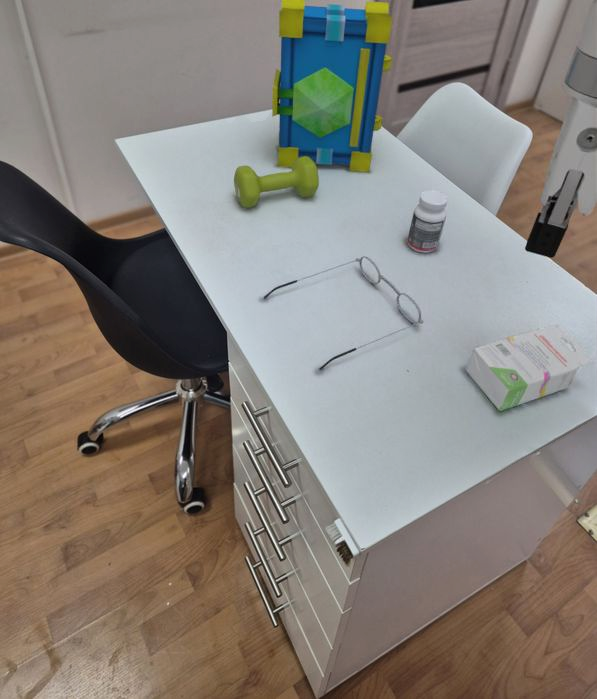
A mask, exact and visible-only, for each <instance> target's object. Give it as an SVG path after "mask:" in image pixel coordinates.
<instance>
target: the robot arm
mask: <svg viewBox="0 0 597 699" xmlns="http://www.w3.org/2000/svg"><path fill="white" fill-rule="evenodd" d="M587 13H588V14H587V17H586V20H585V22H584V25H583V27H582V31H581V32H580V35H579V39H578V42H577V45H576V47H575V50H574V52H573V55H572V58H571V60H570V63H569V66H568V69H567V72H566V74H565V77H564V80H563V83H562V86H561V87H562V89H563V91H564V92H565V93H566V94H567V95H569V96H571V97H572V98H571V100H570V104H569V105H568V108H567V112H566V114H565V117H564V119H563V121H562V122H563V123H562V125H561V127H560V131H559V133H558V136H557V139H556V142H555V145H554V148H553V151H552V154H551V157H550V160H549V165H548V168H547V172H546V176H545V180H544V184H543V188H542V189H543V190H542V192H541V196H540V202H541V204H542V208H541V212H540V211H538V213H537V214H536V215H537V216H536V217H535V220H534V223H533V225H532V228H531V230H530V233H529V235H528V238H527V240H526V244H525V246H524V250H525V251H526V252H528V253H531V254H535V255H539V256H543V257H545V258H548V259H549V258H550V259H552V258H555V257H556V255H557V252H558V251H559V248H560V246H561V244H562V241H563V239H564V237H565V235H566V233H567V230H568V228H569V223H570V220H571V217H572V216H573V213H574V211H575V209H576V207H577V213H578V214H582V216H584V217H587V216H589V215H591V214H593V211H594V210H595V206H596V205H597V0H592V2H591V5H590V8H589V11H588V12H587Z"/></svg>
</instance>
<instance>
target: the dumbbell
mask: <svg viewBox="0 0 597 699" xmlns="http://www.w3.org/2000/svg"><path fill="white" fill-rule="evenodd" d="M233 185H234V193H235V196H236V199H237V200H238V202H239V203H240V205H241V206H242V207H243V208H245V209H249V208H253V207H255V206H256V205H258V203H259V200H260V197H261V194H262V193H266V192H274V191H279V190H280V191H281V190H286V189H290V188H294V189H295V191H296V192H297V194H298V195H299V196H301V197H302V198H311V197H313V196H315V194H316V192H317V191H318V189H319V185H320V177H319V170H318V166H317V164H316V163H314V162H313V161H312V159H311V158H309V157H308V156H303V157H299V158H298V159H297V160H296V161H295V163H294V165H293V167H291V171H286V172H277V173H276V172H275V173H269V174H266V175H261V176H259V175H258V174H257V173H256V172H255V170H254V168H252V167H251V166H249V165H239V166H237V167H236V168H235V171H234V176H233Z"/></svg>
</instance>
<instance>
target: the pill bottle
mask: <svg viewBox="0 0 597 699" xmlns="http://www.w3.org/2000/svg"><path fill="white" fill-rule="evenodd" d="M447 204H448V197H447V195H445V194H444V193H442V192H440V191H438V190H433V189H432V190H431V189H430V190H424V191H422V193H421V194H420V196H419V199H418V204H416V206H415V208H414V210H413V213H412V218H411V223H410V227H409V230H408V236H407V245H408V246H409V247H410V249H412V250H414V251H415V252H418V253H421V254H422V253H427V254H428V253H432V252H434V251H436V250H437V249H438V247H439V244H440V240H441V236H442V234H443V229H444V226H445V223H446V219H447V213H448V212H447V210H446V208H447Z"/></svg>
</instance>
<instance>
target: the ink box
mask: <svg viewBox="0 0 597 699" xmlns="http://www.w3.org/2000/svg"><path fill="white" fill-rule="evenodd" d="M562 339H563V341H565V342H566V343H567V344H570V346H571V348H572V349H573V350H574V351H573V350H572V349H571V348H570V347H569V346H568V345H567V344H565V343H564V342H563V341H562ZM467 361H468V362H467V364H466V367H465V371H466V373H467V374H468V376H470V377H471V379H472V380H473V381H474V382H475V383H476V385H477V386H478V387H479V388H480V389H481V391H482V392H483V393H484V394H485V396H486V397H487V398H488V400H490V402H491V403H492V404H493V406H494V407H495V408H496V409H497V410H498V411H499V412H502V411H505V410H508V409H511V408H513V407H517V406H519V405H523V404H526V403H528V402H531V401H534V400H537V399H540V398H543V397H546V396H548V395H552V394H555V393H557V392H559V391H564V390H565V389H567V388H568V387H569V384H570V383H571V381H572V379H573V378H574V376H575V375H576V373H577V371H578V370H579V367H583V366H586V365H589V364H593V363H594V362H595V360H594V359H593V357H591V356H590V355H589V354H588V353H587V352H586V351H585V350H584V348H582V347H581V346H580V345H579V344H578V343H577V342H576V341H575V340H574V339H573V338H572V337H571V336H570V335H568V334H567V332H566V331H564V329H562V328H561V327H560V326H559V325H557V324H553V325H549V326H547V327H542V328H536V329H533V330H529V331H525V332H523V333H520V334H516V335H513V336H510V337H509V336H508V337H506V338H501V339H499V340H496V341H493V342H492V341H491V342H489V343H485V344H482V345H479V346H475V347H474V348H473V350H472V352H471V355H470V357H469V359H468V360H467Z"/></svg>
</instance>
